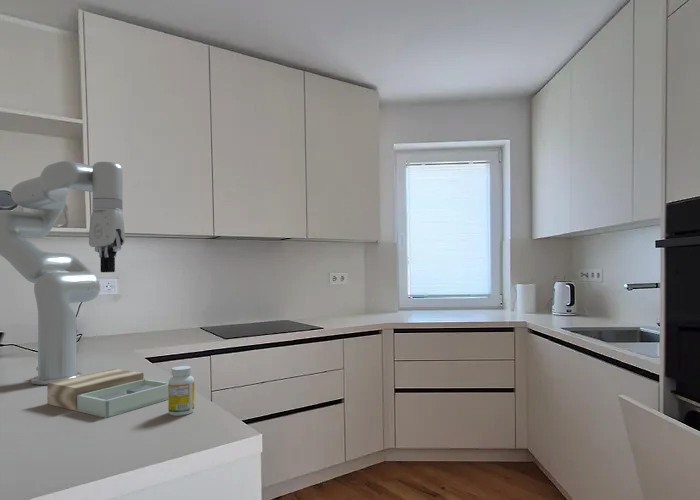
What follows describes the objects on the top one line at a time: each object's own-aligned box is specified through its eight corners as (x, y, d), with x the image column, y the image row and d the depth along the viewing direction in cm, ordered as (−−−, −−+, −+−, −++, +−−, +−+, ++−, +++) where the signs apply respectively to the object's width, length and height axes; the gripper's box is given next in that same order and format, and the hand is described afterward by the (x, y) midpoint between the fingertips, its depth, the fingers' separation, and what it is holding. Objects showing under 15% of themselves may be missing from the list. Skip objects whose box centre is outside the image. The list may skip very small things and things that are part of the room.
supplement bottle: (181, 417, 97) (181, 371, 97) (162, 414, 99) (162, 369, 100) (200, 410, 102) (199, 366, 102) (181, 407, 104) (181, 364, 104)
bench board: (47, 404, 110) (47, 382, 110) (115, 387, 124) (115, 368, 125) (75, 410, 104) (75, 388, 104) (143, 392, 118) (143, 372, 118)
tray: (77, 411, 103) (77, 395, 103) (145, 392, 118) (144, 379, 118) (105, 417, 98) (105, 401, 98) (173, 397, 112) (173, 383, 113)
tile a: (139, 392, 107) (139, 402, 107) (158, 387, 111) (158, 397, 111) (126, 389, 109) (126, 400, 109) (145, 385, 114) (145, 395, 113)
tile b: (109, 400, 101) (109, 411, 100) (131, 394, 105) (131, 405, 105) (97, 397, 103) (97, 408, 103) (118, 392, 107) (118, 402, 107)
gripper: (79, 207, 131) (79, 273, 130) (110, 202, 123) (110, 271, 122) (104, 210, 137) (104, 272, 136) (136, 205, 129) (136, 271, 129)
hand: (107, 272), depth 129 cm, fingers closed
